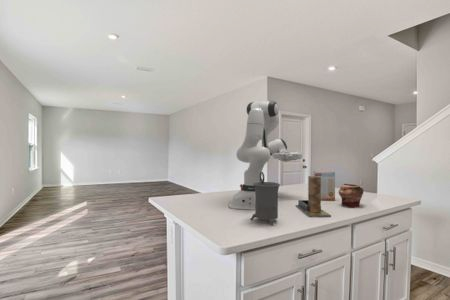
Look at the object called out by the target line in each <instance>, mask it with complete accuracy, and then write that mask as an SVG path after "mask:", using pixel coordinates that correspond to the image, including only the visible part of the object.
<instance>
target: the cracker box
mask: <svg viewBox="0 0 450 300" xmlns="http://www.w3.org/2000/svg"><path fill="white" fill-rule="evenodd" d="M312 173H313V174H312V175H313V176H318V177H321V201H329V202H330V201H336V171H331V170H330V171H327V170H321V171H320V170H317V171H316V170H315V171H312Z"/></svg>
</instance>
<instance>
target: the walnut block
mask: <svg viewBox="0 0 450 300" xmlns="http://www.w3.org/2000/svg"><path fill="white" fill-rule="evenodd" d="M307 179H308V183H307V185H308V186H307V190H308V192H307V193H308V195H307V196H308V197H307V200H308V206H309V211H311V212H321V210H322V204H321V203H322V200H321V177H318V176H312V175H310V176H309V175H308V178H307Z"/></svg>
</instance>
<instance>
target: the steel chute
mask: <svg viewBox="0 0 450 300" xmlns="http://www.w3.org/2000/svg"><path fill="white" fill-rule="evenodd" d="M295 207H296V208H297V209H298V210H299V211H300V212H302V213H303V214H304V215H306V216H307V217H309V218H332V215H331V214H330V213H328V212H326V210H323V209H321V212H311V211H309V206H308V199H307V200H306V199H300V200H299V199H298V204H295Z"/></svg>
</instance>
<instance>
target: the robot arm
mask: <svg viewBox="0 0 450 300" xmlns="http://www.w3.org/2000/svg"><path fill="white" fill-rule="evenodd" d="M246 114H247V120H246V129H245V137H244V140H243V142H242V144H241V145H240V147H239V148H238V149H237V150H236V159H237V160H238V161H240V162H243V163H249V166H248V168H247V169H245V171H244V172H243V183H240V184H239V187H240V190H239V191H238V192H236V193H235V194H234V195H233V196H232V200H231V202H230V203H228V207H229V208H230V209H232V210H233V209H234V210H250V211H251V210H252V211H253V210H254V211H255V187H254V185H253V184H254V183H256V182H260V178H259V176H260V172H263V169H264V167H265V165H266V164H267V162H269V161H270V160H271V159H270V158H271V157H273V159H274V160H275V159H277V160H279V161H280V162H285V163H286V162H290V161H297V160H301V159H303V154H302V153H301V152H297V151H294V150H293V151H292V150H288V145H287V143H286V141H285V140H284V139H282V138H280V137H279V138H276V139H274V140H272V141H270V142H269V135H270V134H271V133H272V132H273V131H275V130H276V128H277V127H278V126H279V124H280V119H279V115H278V114H279V105H278V103H277V102H276V101H274V100H270V101H267V100H265V101H264V100H262V101H261V100H259V101H252V102H249V103H248V104H247V106H246ZM260 140H261V145H258V143H259V142H260ZM261 176H262V174H261Z"/></svg>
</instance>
